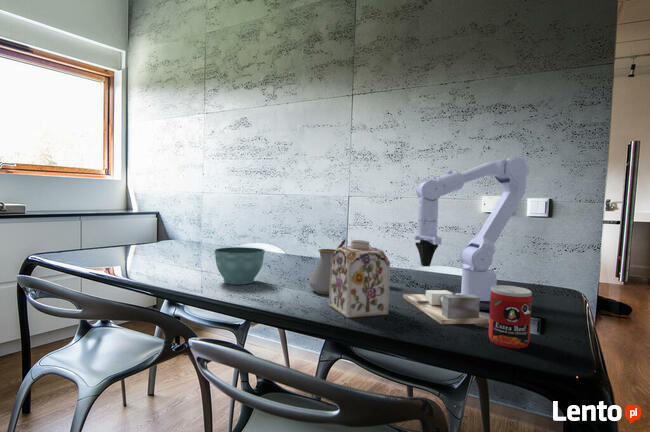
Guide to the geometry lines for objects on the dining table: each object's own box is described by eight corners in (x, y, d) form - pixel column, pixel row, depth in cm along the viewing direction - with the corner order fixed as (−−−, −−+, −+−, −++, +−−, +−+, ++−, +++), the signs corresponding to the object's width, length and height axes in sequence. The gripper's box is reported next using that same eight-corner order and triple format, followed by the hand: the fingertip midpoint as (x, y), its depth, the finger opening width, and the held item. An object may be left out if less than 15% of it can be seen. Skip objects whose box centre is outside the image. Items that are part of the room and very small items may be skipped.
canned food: (489, 345, 78) (491, 290, 77) (487, 333, 85) (490, 283, 85) (531, 351, 75) (535, 295, 74) (526, 338, 82) (529, 287, 82)
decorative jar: (328, 305, 103) (330, 238, 102) (366, 303, 107) (369, 238, 107) (347, 319, 92) (350, 243, 91) (389, 315, 96) (392, 243, 96)
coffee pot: (338, 298, 112) (340, 246, 111) (302, 293, 116) (304, 243, 116) (359, 284, 132) (361, 240, 131) (328, 280, 136) (330, 238, 135)
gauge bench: (441, 297, 117) (441, 277, 117) (488, 323, 92) (489, 298, 92) (403, 297, 115) (403, 277, 115) (441, 324, 90) (442, 298, 90)
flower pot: (204, 280, 129) (205, 248, 128) (247, 275, 139) (248, 245, 139) (228, 290, 117) (229, 254, 116) (273, 284, 128) (274, 251, 127)
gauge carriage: (445, 301, 107) (446, 290, 107) (463, 310, 98) (464, 299, 98) (414, 301, 106) (414, 290, 106) (429, 311, 96) (429, 299, 96)
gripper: (405, 219, 122) (403, 262, 123) (425, 221, 108) (423, 270, 109) (426, 220, 124) (424, 262, 124) (449, 222, 109) (446, 270, 110)
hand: (425, 266), depth 116 cm, fingers closed
